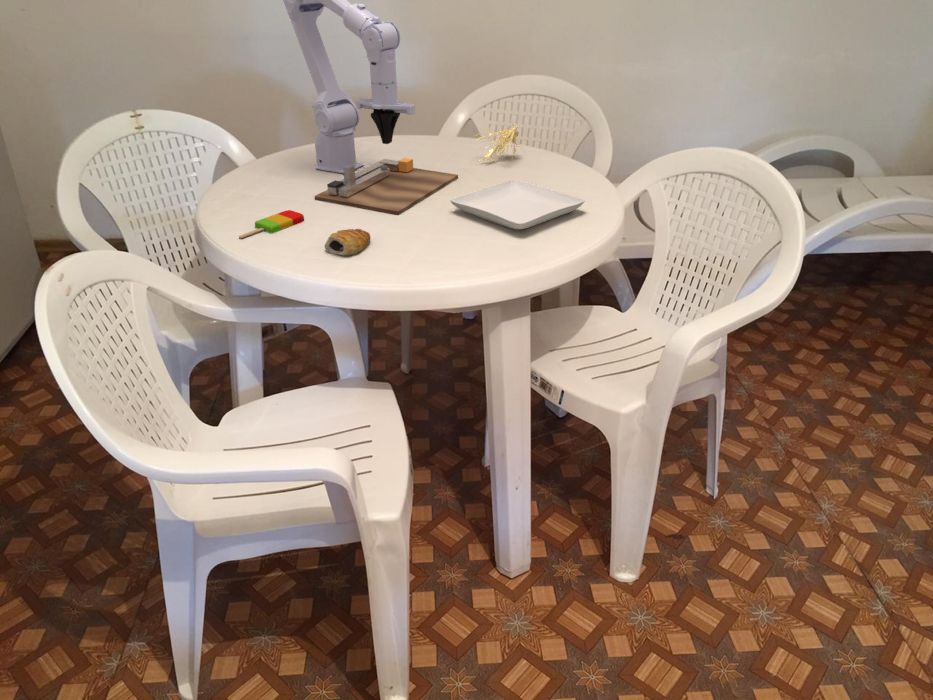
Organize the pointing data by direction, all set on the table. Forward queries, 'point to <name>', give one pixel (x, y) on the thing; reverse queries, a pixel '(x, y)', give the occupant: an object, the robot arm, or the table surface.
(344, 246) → the pastry
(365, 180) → the bar
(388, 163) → the tongs frame
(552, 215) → the salad plate
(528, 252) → the table surface
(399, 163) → the orange block
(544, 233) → the table surface
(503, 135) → the crumpled gold foil
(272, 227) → the popsicle
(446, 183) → the walnut board
